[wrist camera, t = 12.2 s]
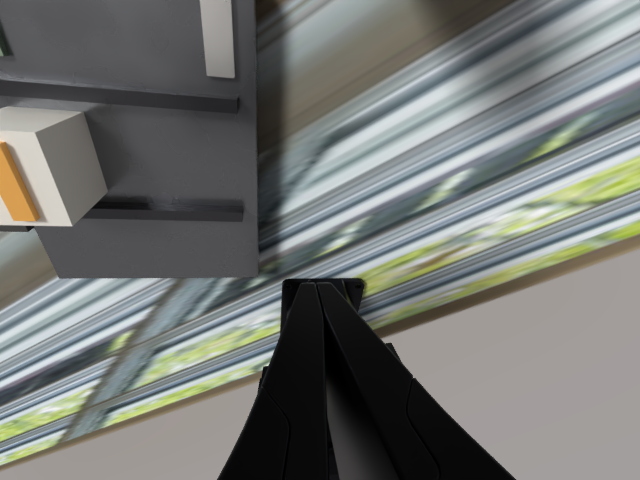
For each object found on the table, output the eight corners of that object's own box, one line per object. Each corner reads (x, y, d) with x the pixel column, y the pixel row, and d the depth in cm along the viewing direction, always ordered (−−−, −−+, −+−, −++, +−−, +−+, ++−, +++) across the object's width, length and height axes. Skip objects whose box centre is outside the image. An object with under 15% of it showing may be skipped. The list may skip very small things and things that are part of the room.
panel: (259, 259, 22) (257, 285, 20) (76, 258, 20) (51, 287, 18) (256, -27, 14) (252, -39, 11) (-66, -76, 12) (-150, -103, 9)
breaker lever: (107, 191, 16) (68, 230, 13) (44, 189, 16) (-13, 228, 13) (83, 111, 14) (29, 134, 11) (7, 106, 14) (-72, 128, 10)
